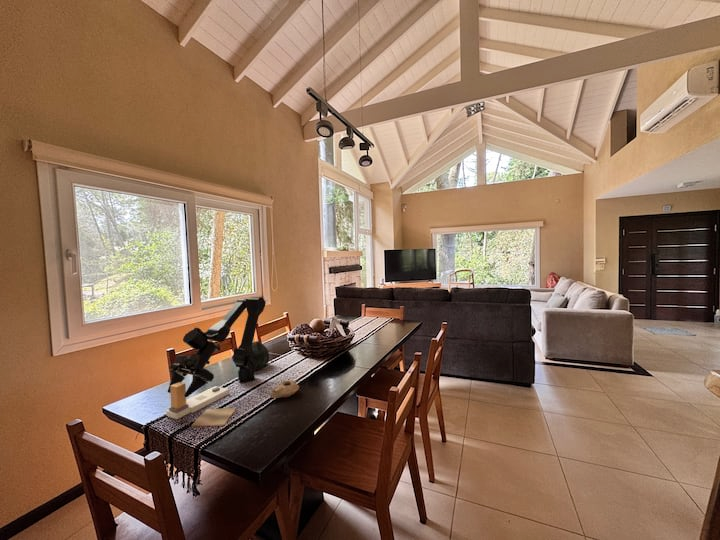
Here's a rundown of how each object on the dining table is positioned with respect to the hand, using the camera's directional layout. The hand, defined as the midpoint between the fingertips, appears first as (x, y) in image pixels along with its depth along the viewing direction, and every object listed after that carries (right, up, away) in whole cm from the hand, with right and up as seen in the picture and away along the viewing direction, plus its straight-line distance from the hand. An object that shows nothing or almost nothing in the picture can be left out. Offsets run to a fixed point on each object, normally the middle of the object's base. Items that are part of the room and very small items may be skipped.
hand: (176, 394), depth 108 cm
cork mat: (+15, -7, -2) cm, 17 cm away
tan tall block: (0, -7, +1) cm, 8 cm away
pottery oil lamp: (+36, -7, +14) cm, 39 cm away
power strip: (+3, -7, +8) cm, 11 cm away
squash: (+12, -6, +46) cm, 48 cm away
